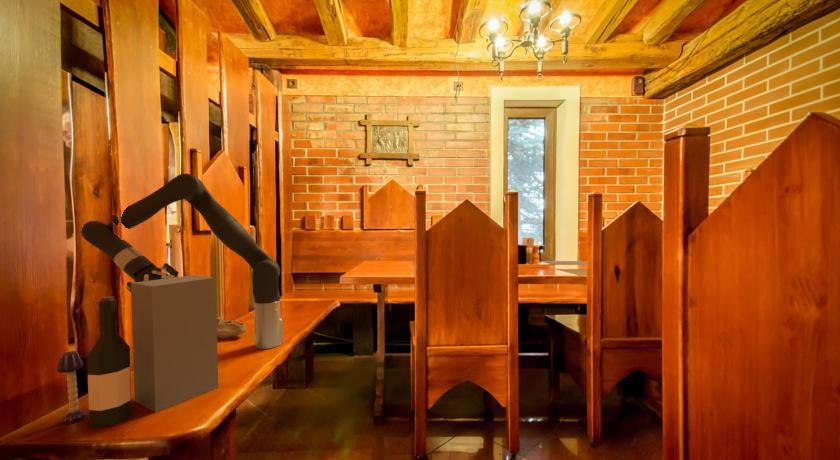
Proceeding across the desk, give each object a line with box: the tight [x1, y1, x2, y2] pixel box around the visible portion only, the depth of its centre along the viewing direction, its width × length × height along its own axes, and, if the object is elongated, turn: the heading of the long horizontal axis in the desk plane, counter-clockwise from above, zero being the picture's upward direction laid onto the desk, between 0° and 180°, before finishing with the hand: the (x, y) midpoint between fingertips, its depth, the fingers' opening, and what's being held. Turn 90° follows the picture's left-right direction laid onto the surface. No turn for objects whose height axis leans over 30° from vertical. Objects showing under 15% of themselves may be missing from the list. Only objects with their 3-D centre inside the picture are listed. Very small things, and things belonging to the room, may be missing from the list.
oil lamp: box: [217, 316, 248, 339], centre depth 155 cm, size 11×15×8 cm
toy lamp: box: [56, 350, 87, 425], centre depth 89 cm, size 5×5×17 cm
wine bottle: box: [86, 295, 133, 429], centre depth 89 cm, size 8×8×30 cm
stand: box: [130, 274, 219, 413], centre depth 102 cm, size 16×12×32 cm
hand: (168, 294), depth 125 cm, fingers open, 8 cm apart
